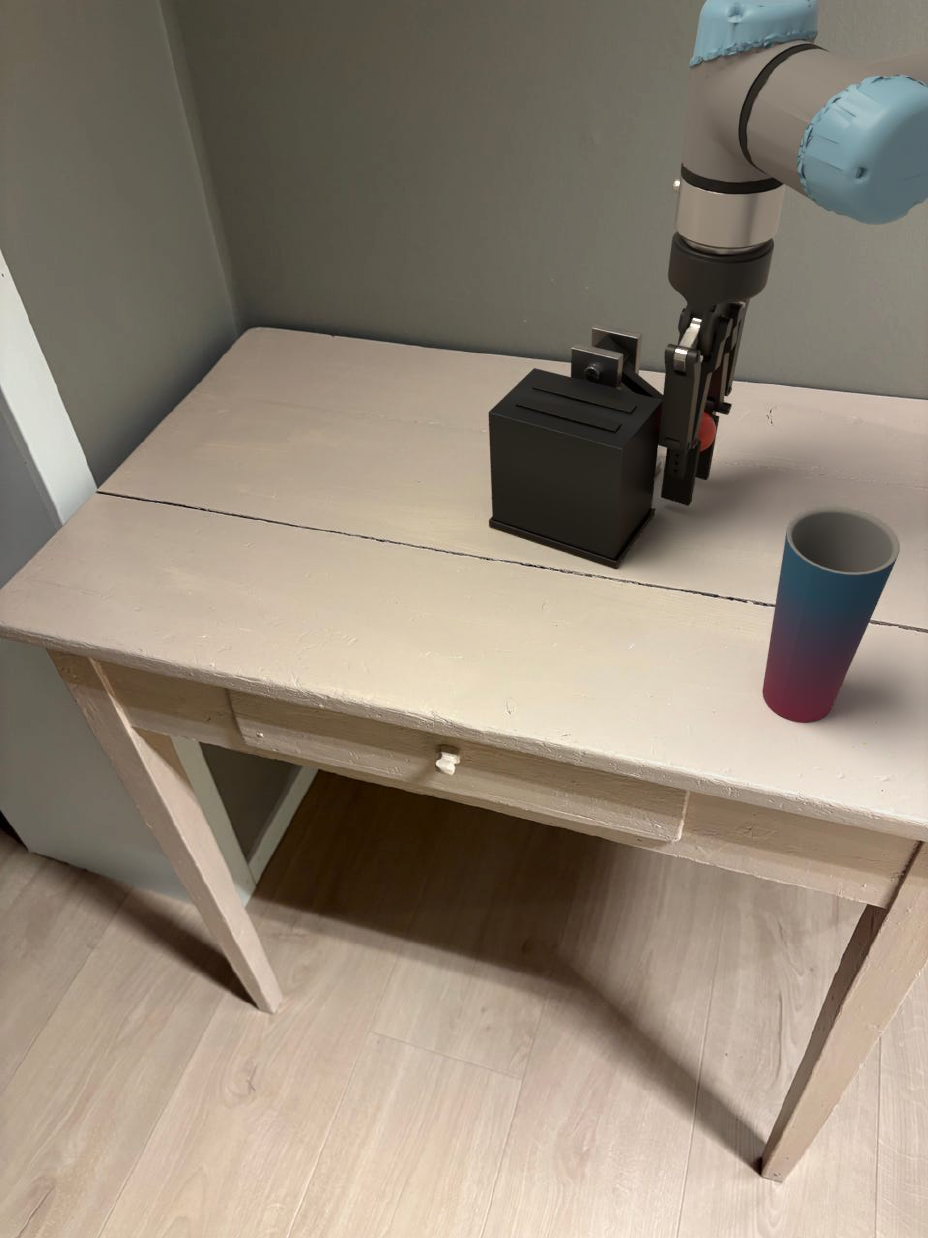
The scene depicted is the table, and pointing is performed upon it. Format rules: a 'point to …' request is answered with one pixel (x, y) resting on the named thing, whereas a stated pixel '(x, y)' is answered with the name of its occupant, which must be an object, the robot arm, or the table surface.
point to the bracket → (607, 359)
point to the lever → (654, 390)
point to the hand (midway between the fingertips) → (685, 486)
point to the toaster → (574, 465)
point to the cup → (824, 606)
